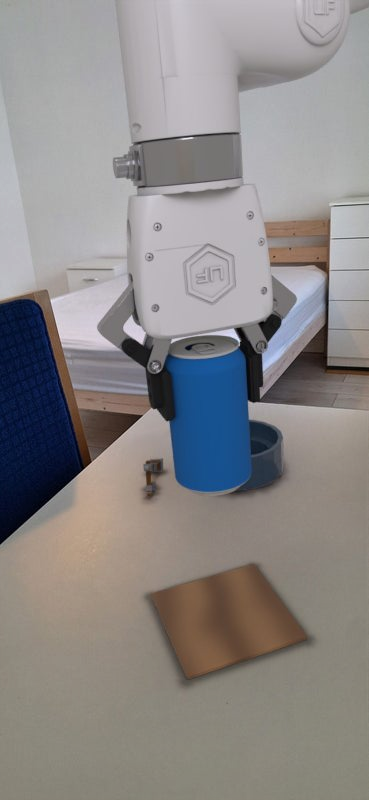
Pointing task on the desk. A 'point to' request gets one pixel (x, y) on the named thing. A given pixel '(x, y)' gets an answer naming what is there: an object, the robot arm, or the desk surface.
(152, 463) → the wooden post with brackets
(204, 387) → the beverage can
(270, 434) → the bowl
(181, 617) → the coaster
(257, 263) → the robot arm
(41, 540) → the desk surface
